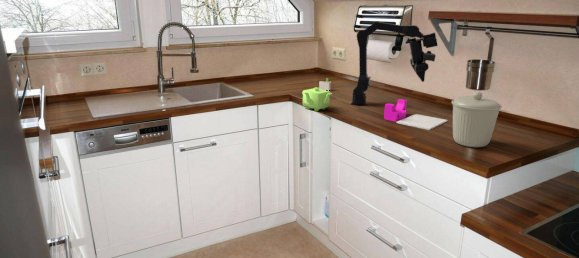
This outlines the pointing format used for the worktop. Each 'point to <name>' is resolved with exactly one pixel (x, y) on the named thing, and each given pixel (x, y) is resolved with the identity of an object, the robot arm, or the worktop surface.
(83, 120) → the worktop surface
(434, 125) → the mat
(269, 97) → the worktop surface
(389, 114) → the toy block
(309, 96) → the kettle
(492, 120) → the canister
